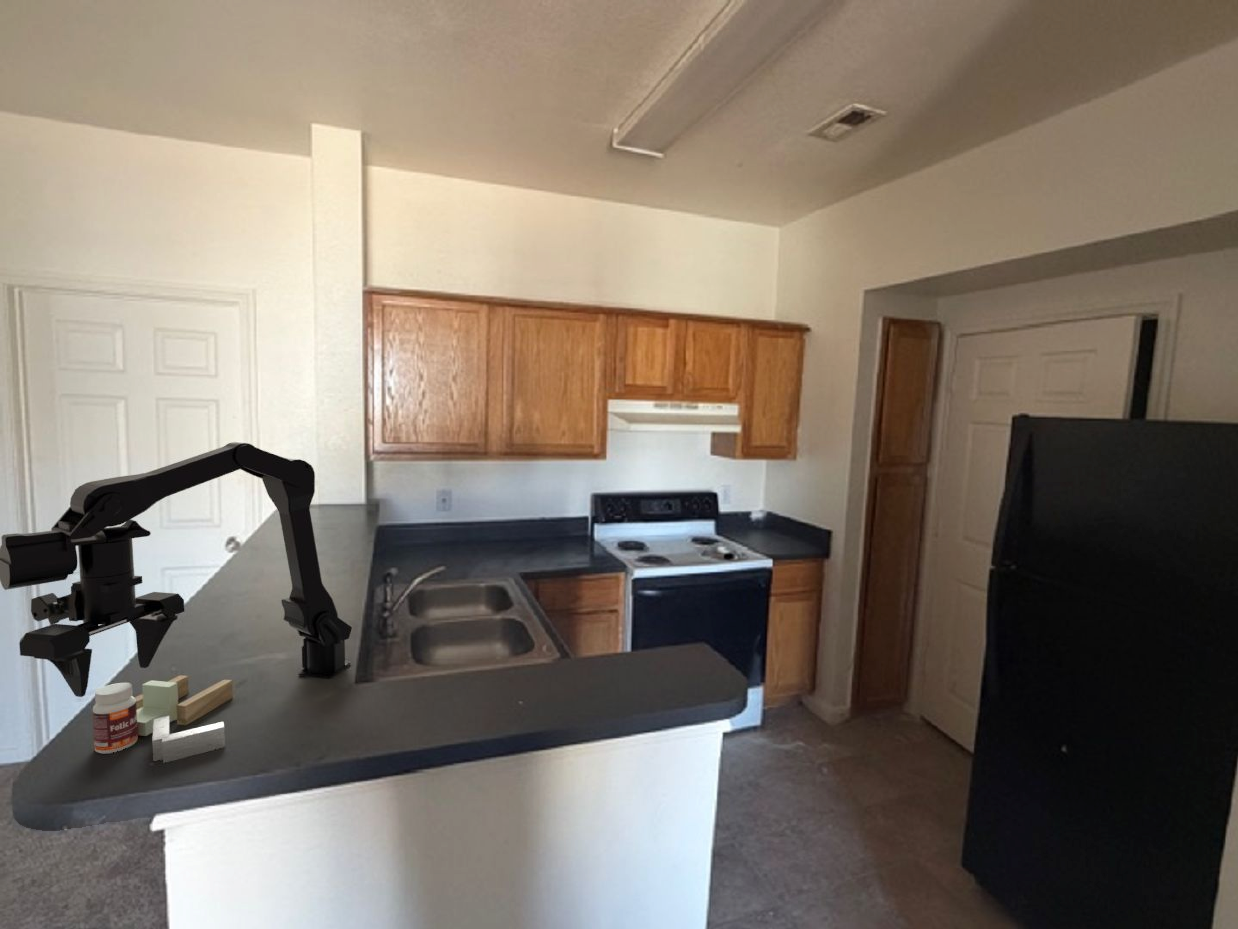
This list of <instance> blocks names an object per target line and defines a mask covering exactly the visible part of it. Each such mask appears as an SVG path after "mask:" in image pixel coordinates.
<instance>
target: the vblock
mask: <svg viewBox="0 0 1238 929" xmlns="http://www.w3.org/2000/svg"><path fill="white" fill-rule="evenodd" d="M170 723H171V722H170V719H169V716H166V717H161V718H157V719H154V724H153V732H152V738H151V739H152V740H151V741H152V760H153V761H156V760H160V761H162V763H163V764H166V763H170V762H174V761H177V760H181V759H185V758H188V757H191V756H197V755H200V754H203V753H208V752H211V751H215V749H216V750H219V748H220V749H223V748H225V747H226V741H225V740H226V739H225V736H226V735H225V723H224V721H221V722H220V721H219V722H216V723H212V724H207V725H204V726H203V725H202V726H199V727H195V728H190V729H186V730H182V731H179V732H175V733H174V732H172V733H171V727H170V726H171V724H170ZM153 761H152V762H153ZM156 762H157V761H156ZM165 762H166V763H165Z"/></svg>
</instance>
